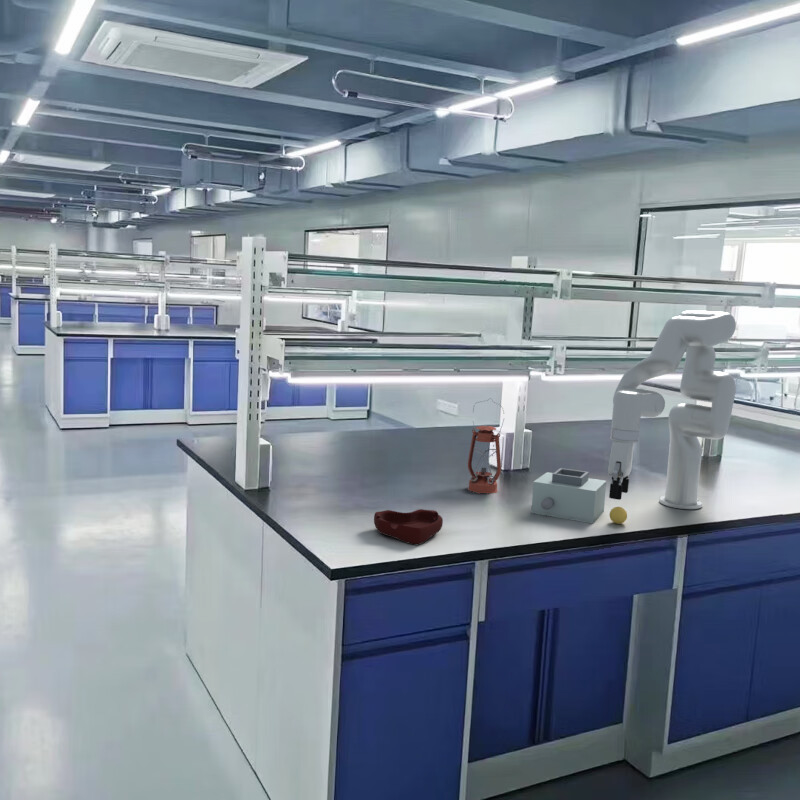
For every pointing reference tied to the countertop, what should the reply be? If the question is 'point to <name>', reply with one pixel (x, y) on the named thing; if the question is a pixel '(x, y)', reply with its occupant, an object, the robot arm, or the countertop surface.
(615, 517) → the ball
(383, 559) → the countertop surface
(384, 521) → the ashtray
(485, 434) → the lantern
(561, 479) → the housing
